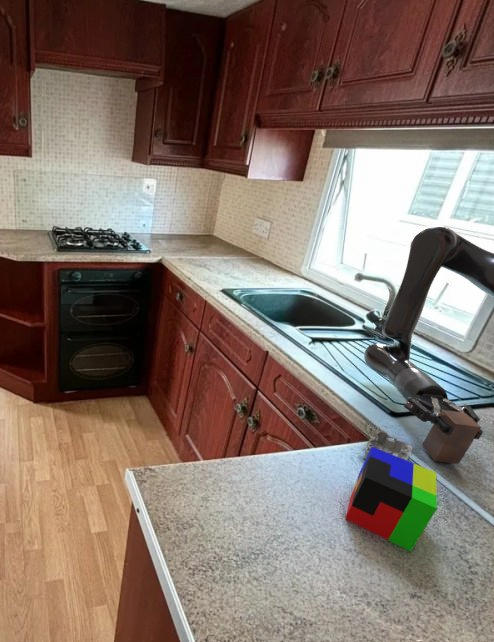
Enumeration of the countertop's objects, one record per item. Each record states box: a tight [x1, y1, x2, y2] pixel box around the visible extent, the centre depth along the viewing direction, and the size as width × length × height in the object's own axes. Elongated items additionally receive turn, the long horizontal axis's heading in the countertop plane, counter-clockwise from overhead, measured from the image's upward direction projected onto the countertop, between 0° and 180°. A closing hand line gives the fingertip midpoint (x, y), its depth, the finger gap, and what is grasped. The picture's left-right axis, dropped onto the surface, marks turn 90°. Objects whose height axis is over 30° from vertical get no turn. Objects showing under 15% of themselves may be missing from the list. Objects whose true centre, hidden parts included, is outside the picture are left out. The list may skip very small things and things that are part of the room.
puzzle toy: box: [344, 447, 438, 552], centre depth 71 cm, size 10×10×10 cm
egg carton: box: [362, 426, 413, 461], centre depth 87 cm, size 11×8×4 cm
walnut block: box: [422, 410, 482, 465], centre depth 87 cm, size 5×5×10 cm
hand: (464, 433), depth 83 cm, fingers closed on walnut block, 5 cm apart
